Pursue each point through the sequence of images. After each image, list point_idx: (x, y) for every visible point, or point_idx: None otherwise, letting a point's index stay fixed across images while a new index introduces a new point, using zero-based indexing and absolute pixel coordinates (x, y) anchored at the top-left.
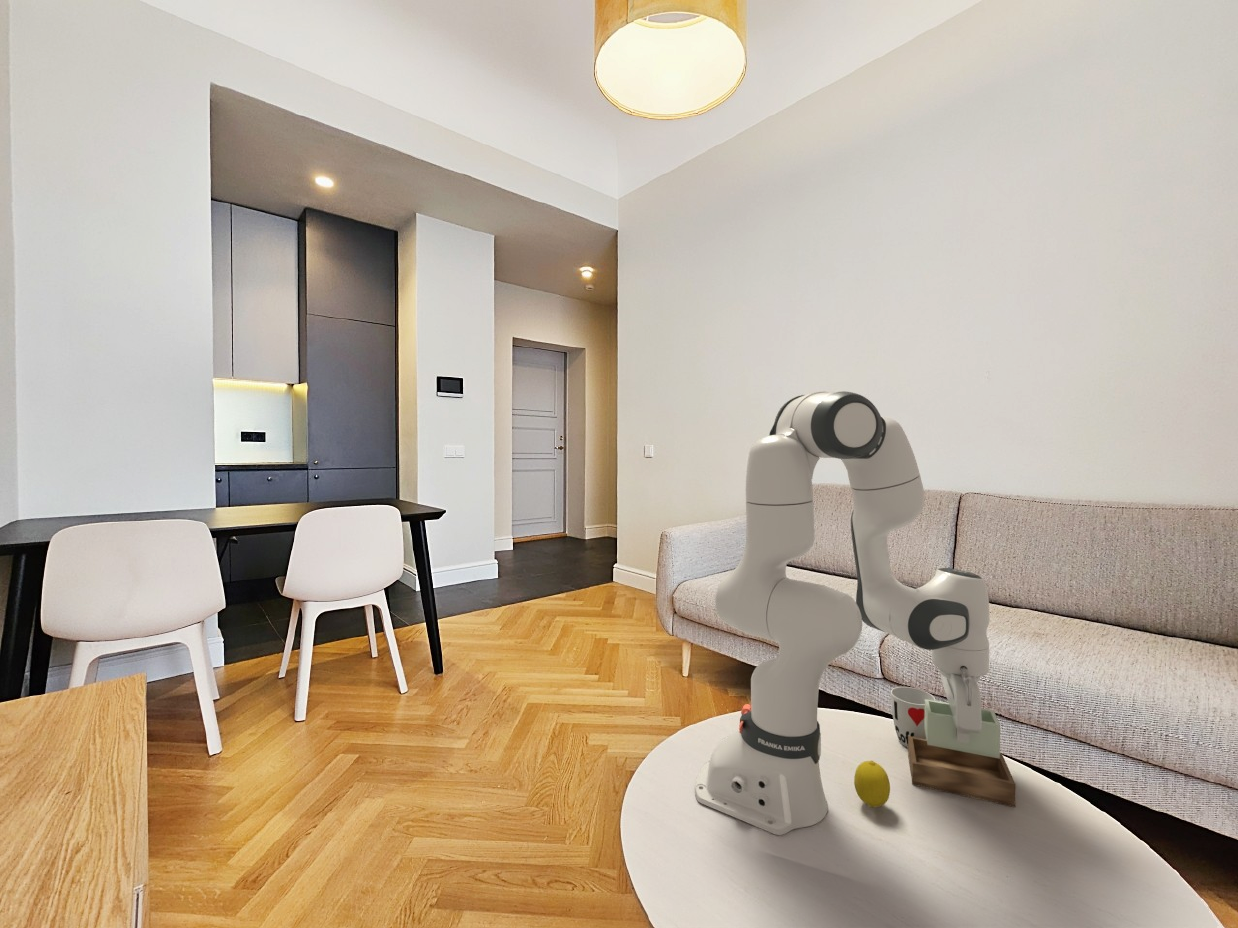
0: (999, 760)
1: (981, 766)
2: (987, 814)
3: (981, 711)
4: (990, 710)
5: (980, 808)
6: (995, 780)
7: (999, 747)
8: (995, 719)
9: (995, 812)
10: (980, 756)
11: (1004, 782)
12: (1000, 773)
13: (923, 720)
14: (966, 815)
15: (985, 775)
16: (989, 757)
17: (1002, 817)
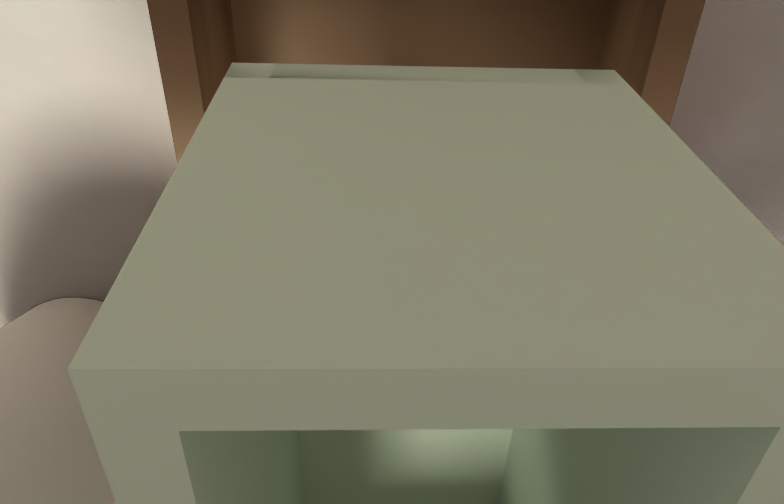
0: None
1: (230, 44)
2: (753, 97)
3: (210, 500)
4: (135, 422)
5: (696, 123)
6: (677, 75)
7: (662, 128)
8: (607, 401)
9: (728, 45)
10: (213, 80)
11: (701, 7)
12: None
13: (114, 502)
14: (771, 205)
15: (328, 31)
16: (202, 11)
17: (778, 13)
